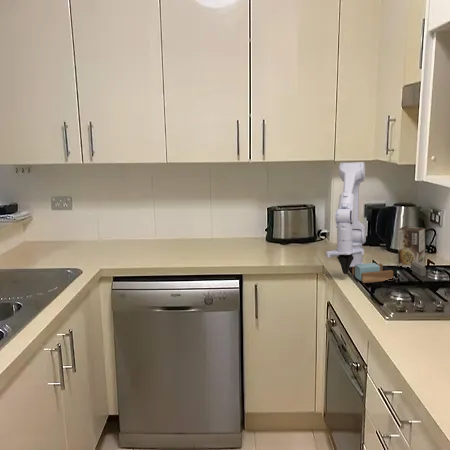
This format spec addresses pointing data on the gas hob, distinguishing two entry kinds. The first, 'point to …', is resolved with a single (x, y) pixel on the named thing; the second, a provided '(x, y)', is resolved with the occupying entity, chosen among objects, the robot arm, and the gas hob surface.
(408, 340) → the gas hob surface
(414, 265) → the block
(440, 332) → the gas hob surface
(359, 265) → the block
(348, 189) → the robot arm
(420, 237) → the cookie box
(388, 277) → the chute
